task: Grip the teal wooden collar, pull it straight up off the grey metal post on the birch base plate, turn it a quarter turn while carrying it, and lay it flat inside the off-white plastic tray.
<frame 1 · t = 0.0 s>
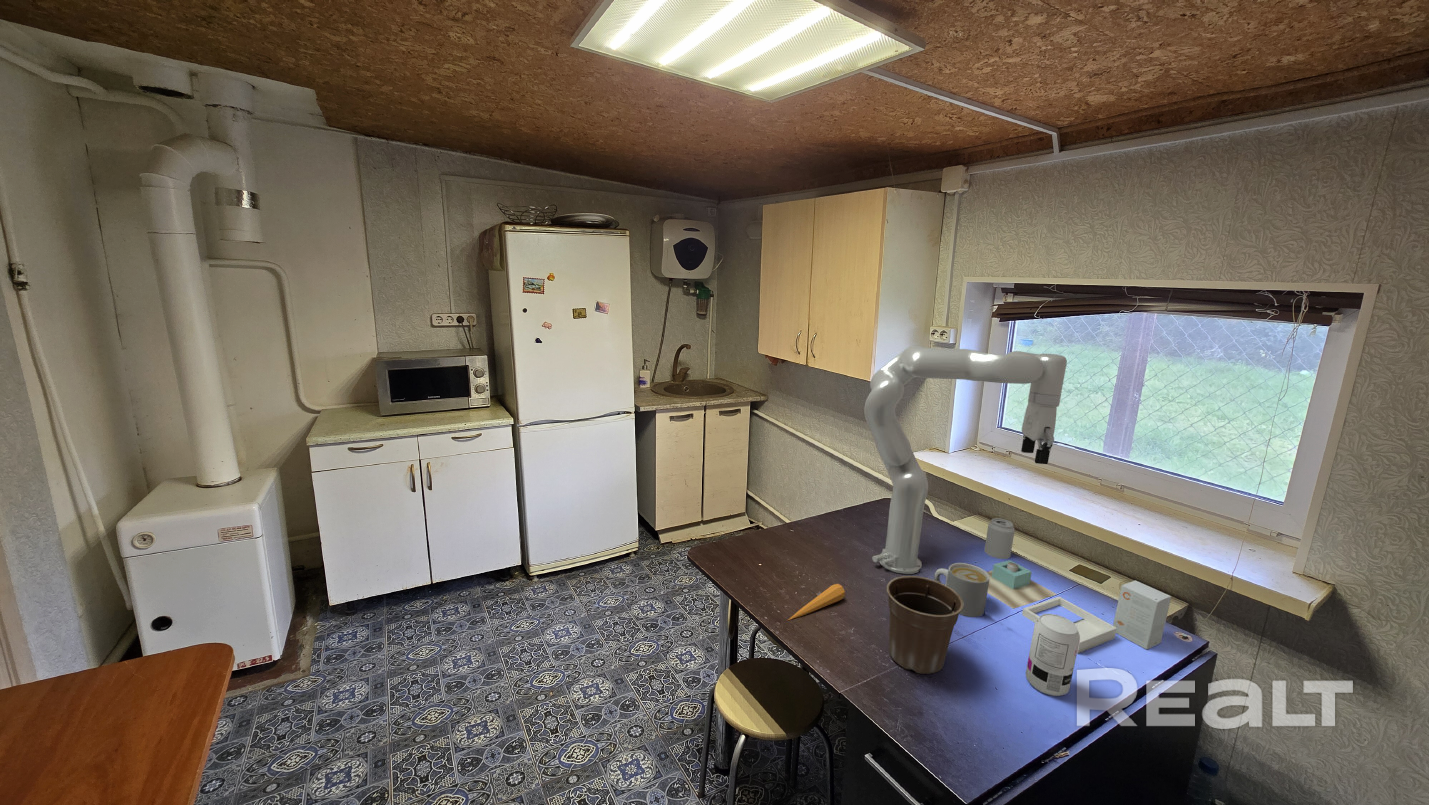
hand: (1033, 457, 154), 37 cm above the table, tool pointing down, fingers open, 9 cm apart
plant pot: (916, 657, 127), on the table
tray: (1066, 628, 139), on the table
coffee mug: (957, 603, 148), on the table
stake base: (1008, 589, 155), on the table
can: (996, 557, 174), on the table
supplement can: (1046, 684, 119), on the table
carrot: (814, 608, 144), on the table
small box: (1135, 637, 136), on the table
collar: (1010, 580, 158), point 1 cm above the table, touching stake base
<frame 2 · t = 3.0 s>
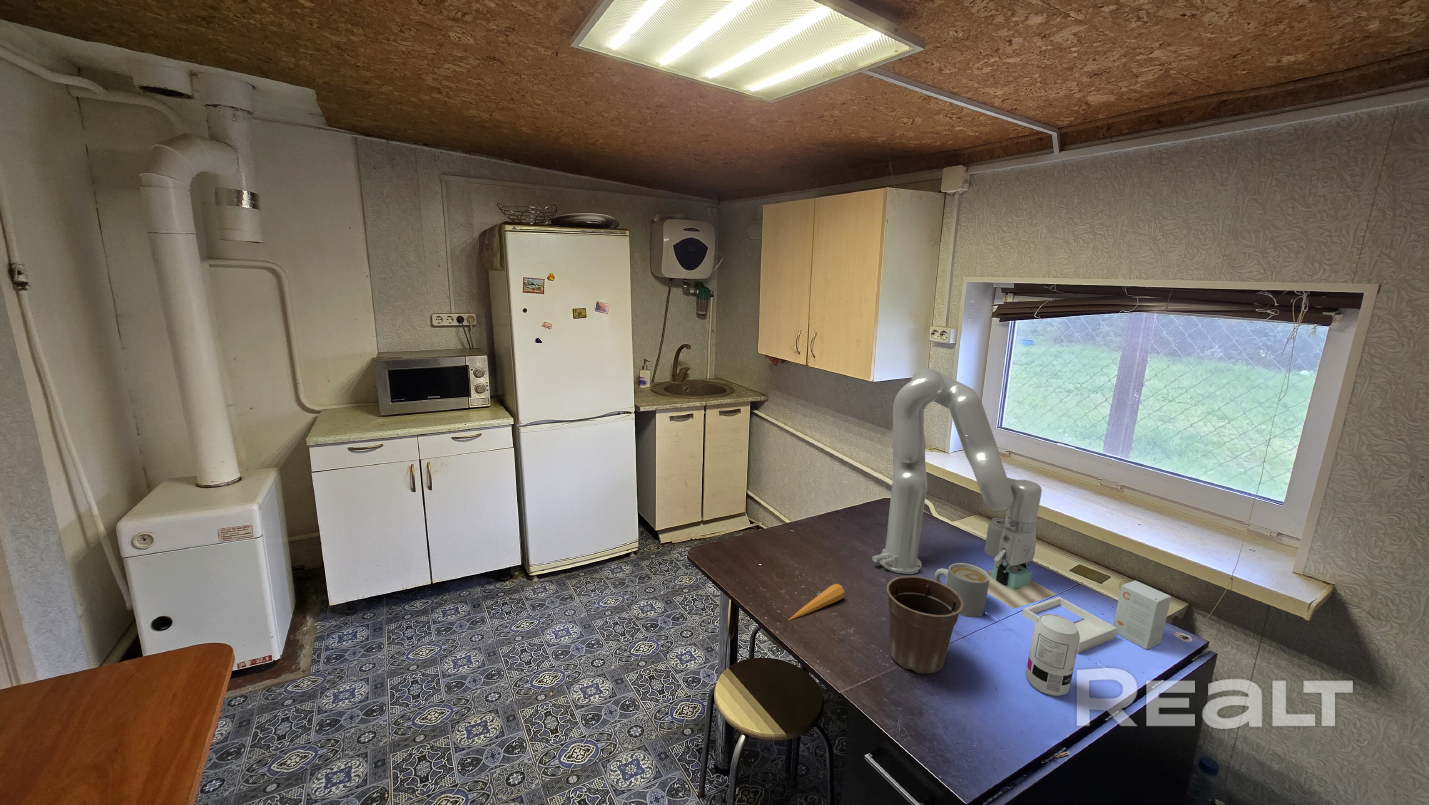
hand: (1010, 579, 158), 1 cm above the table, tool pointing down, fingers closed on collar, 7 cm apart
collar: (1010, 580, 158), point 1 cm above the table, touching gripper, stake base
everything else where it was.
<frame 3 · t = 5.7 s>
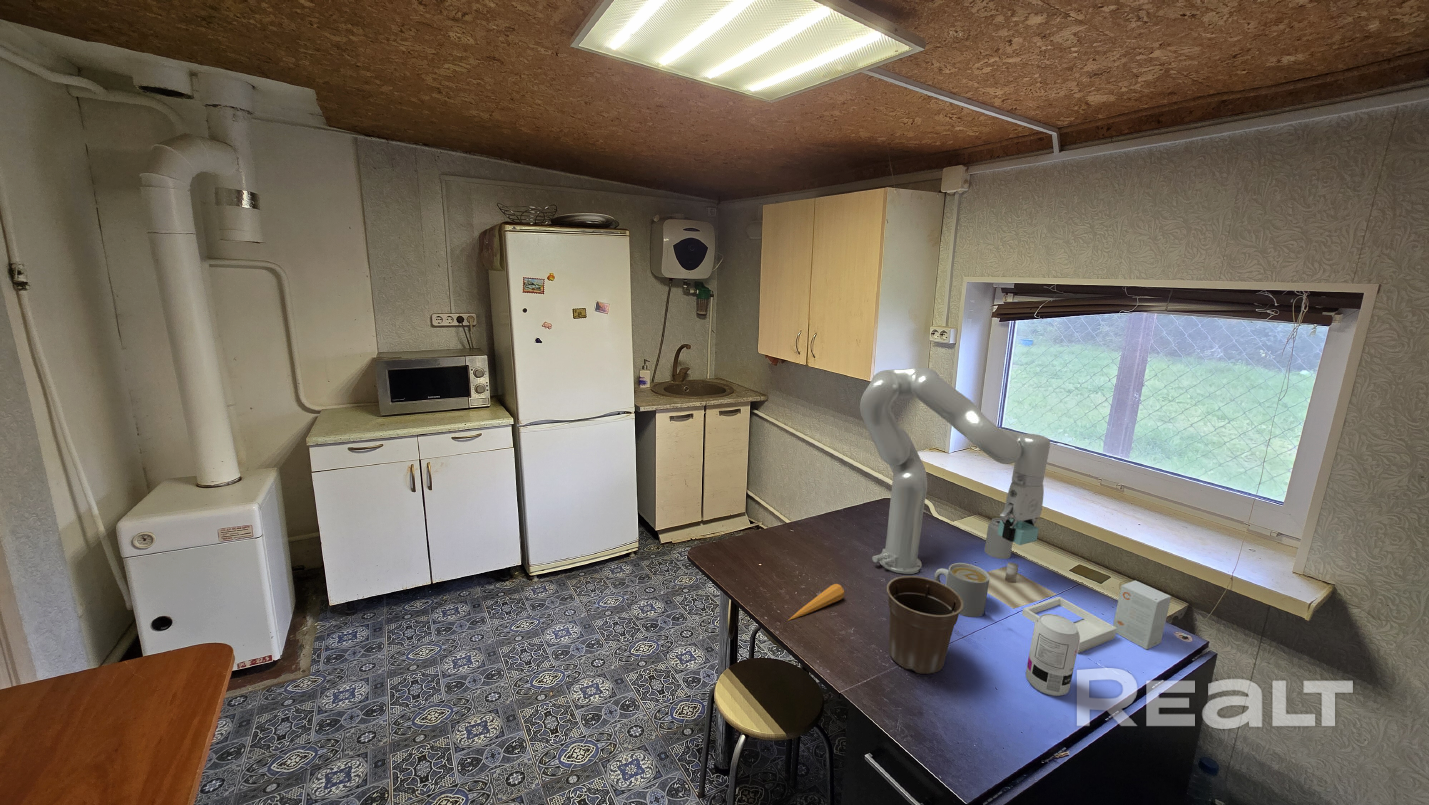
hand: (1016, 536, 155), 15 cm above the table, tool pointing down, fingers closed on collar, 7 cm apart
collar: (1016, 537, 155), point 15 cm above the table, touching gripper
everything else where it was.
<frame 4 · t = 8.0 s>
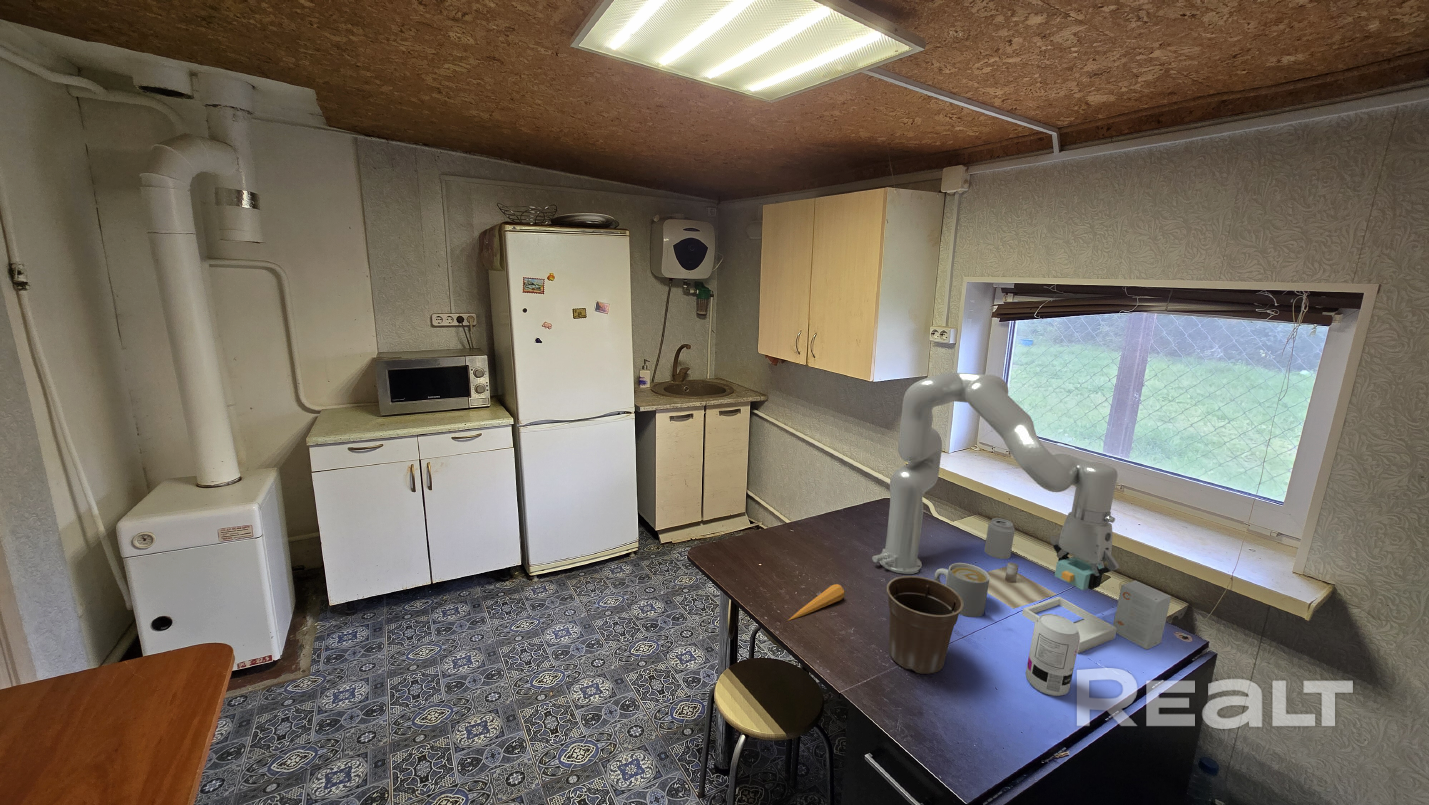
hand: (1077, 579, 136), 14 cm above the table, tool pointing down, fingers closed on collar, 7 cm apart
collar: (1077, 580, 136), point 14 cm above the table, touching gripper
everything else where it was.
when the fingers open (2 cm above the table, at t = 10.8 s): collar drops 1 cm, resting on tray.
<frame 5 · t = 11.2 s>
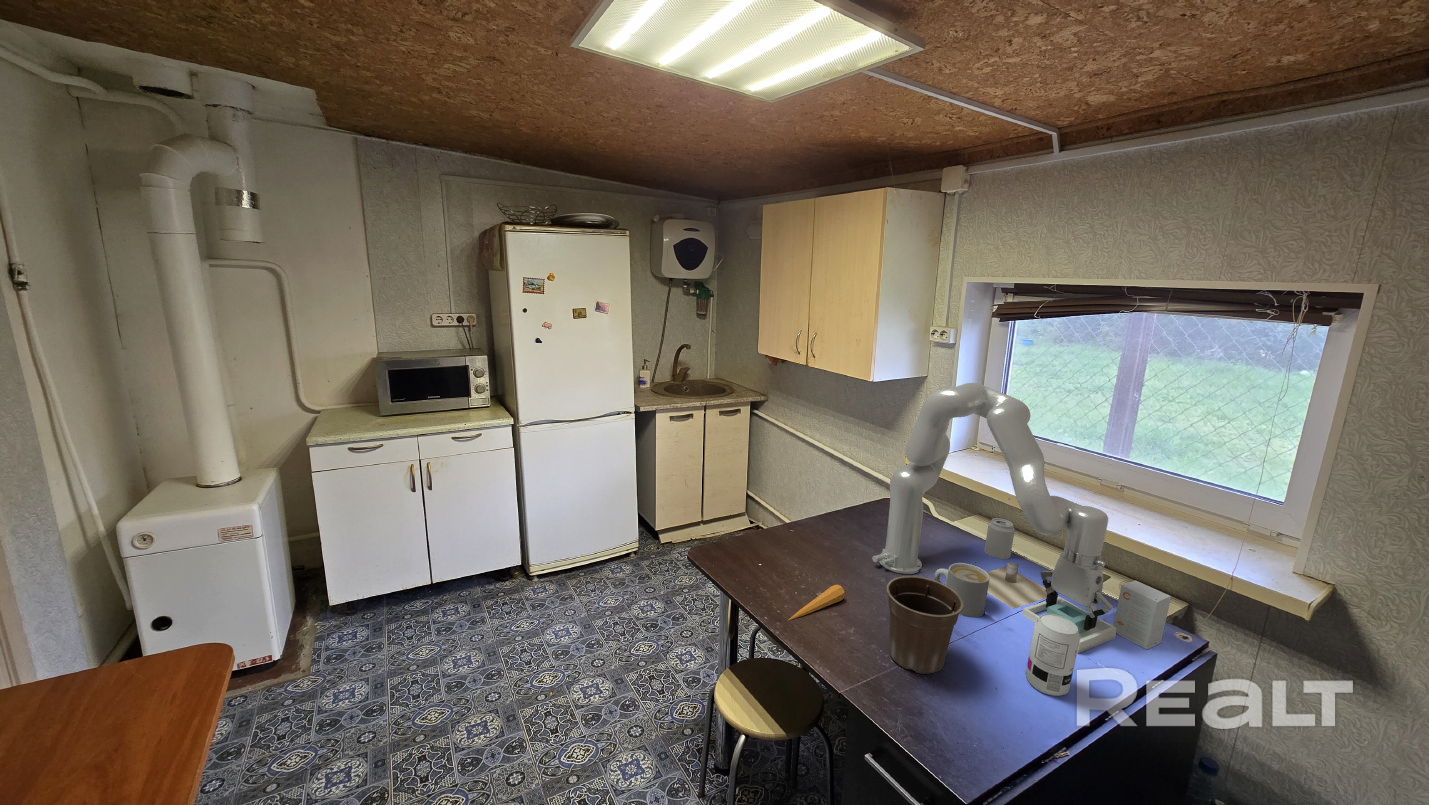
hand: (1068, 617, 138), 3 cm above the table, tool pointing down, fingers open, 9 cm apart
collar: (1067, 625, 139), point 1 cm above the table, touching tray
everything else where it was.
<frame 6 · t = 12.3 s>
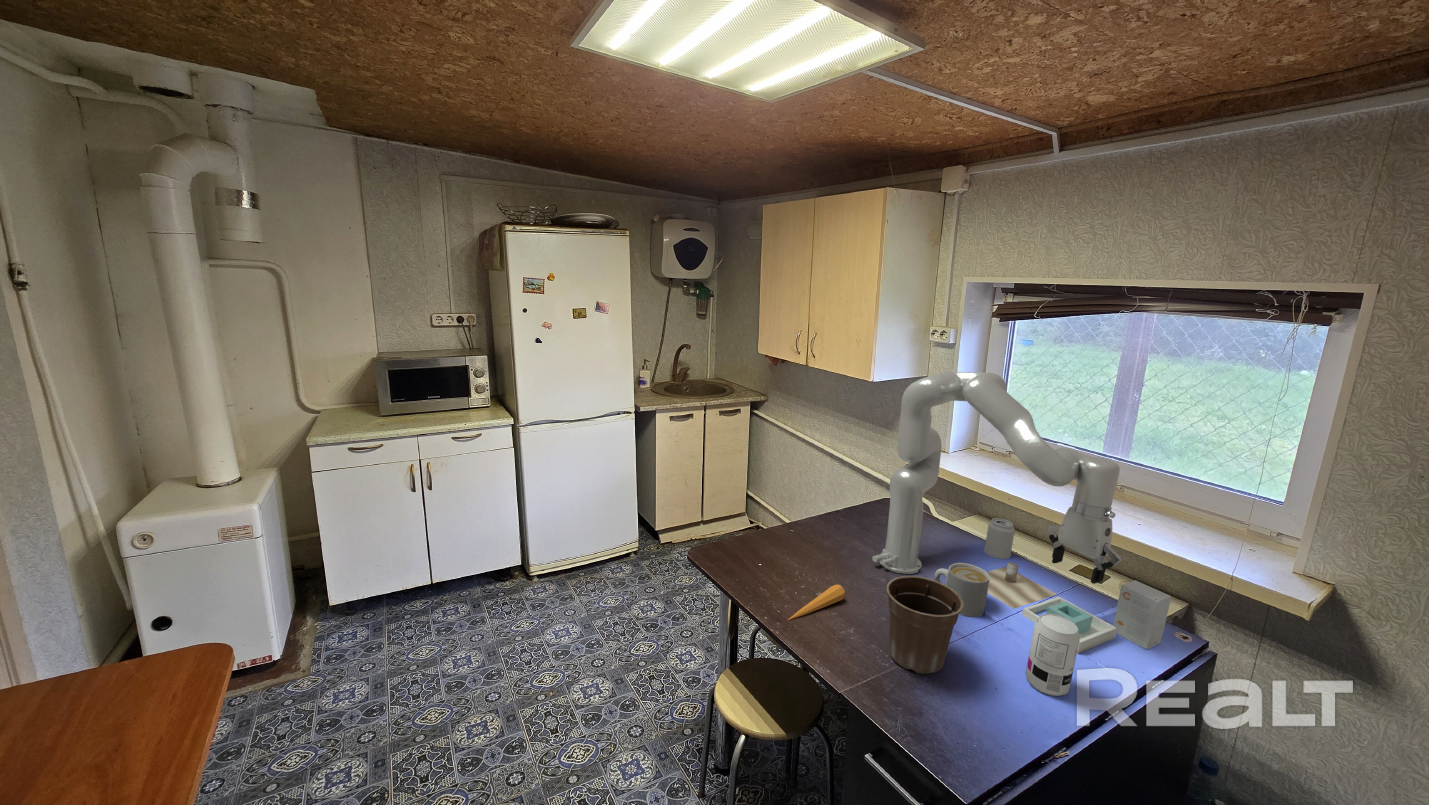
hand: (1075, 571, 136), 16 cm above the table, tool pointing down, fingers open, 9 cm apart
nothing on the table moved.
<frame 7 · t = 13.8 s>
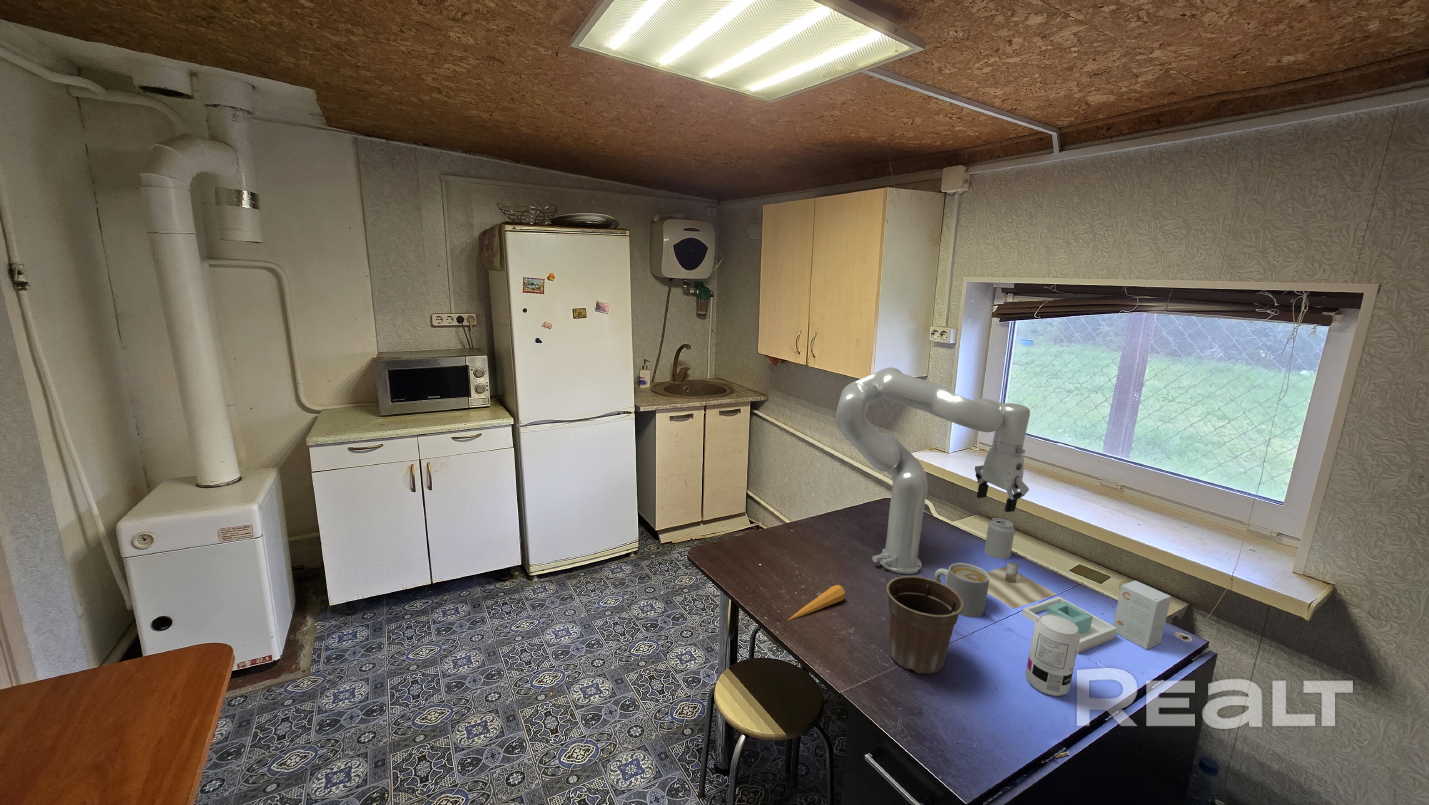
hand: (994, 504, 157), 23 cm above the table, tool pointing down, fingers open, 9 cm apart
nothing on the table moved.
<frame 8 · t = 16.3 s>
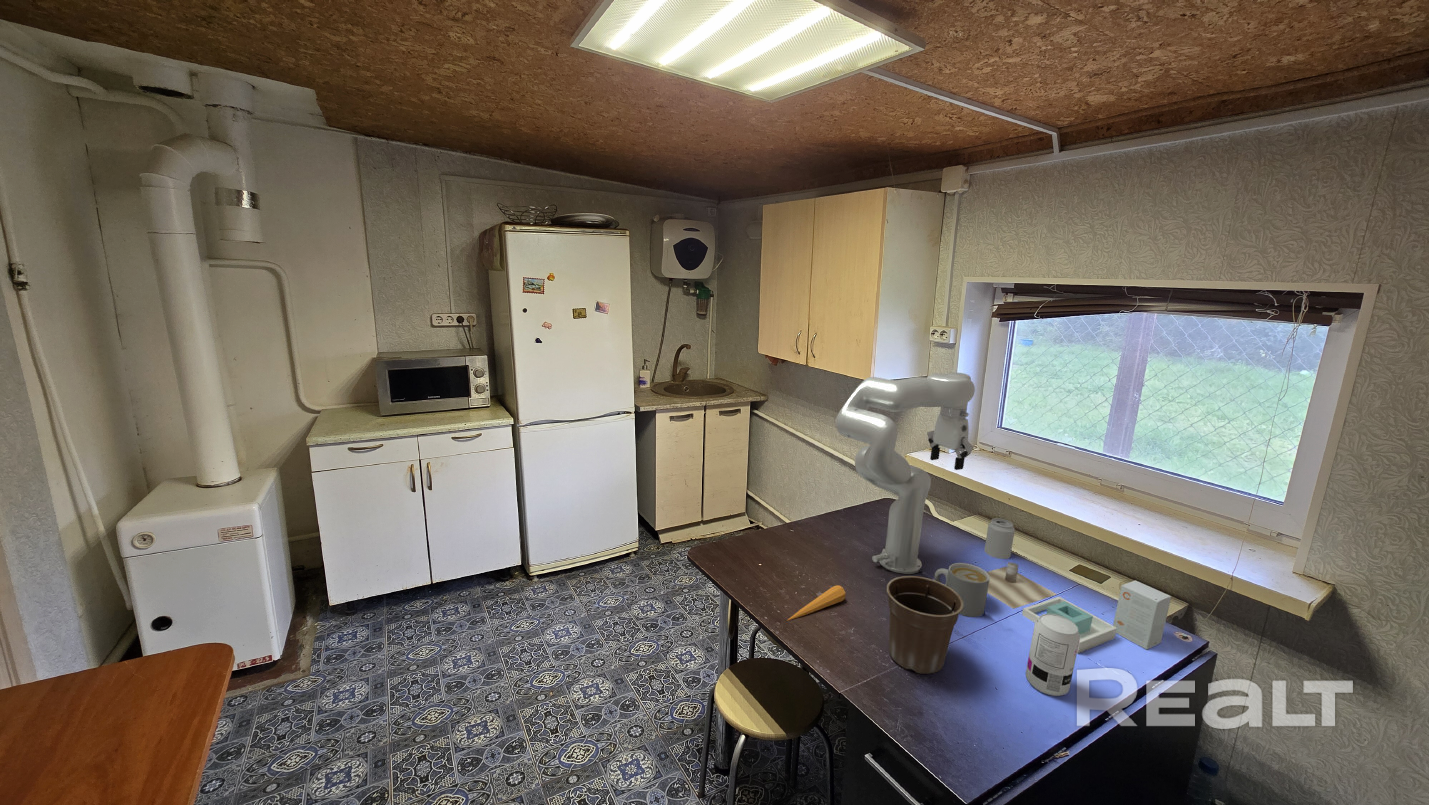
hand: (946, 464, 174), 28 cm above the table, tool pointing down, fingers open, 9 cm apart
nothing on the table moved.
at the end: collar 0.0 cm off-centre on the tray, point 0.8 cm above the tray's base; collar tilted 0°; the gripper is holding nothing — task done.
